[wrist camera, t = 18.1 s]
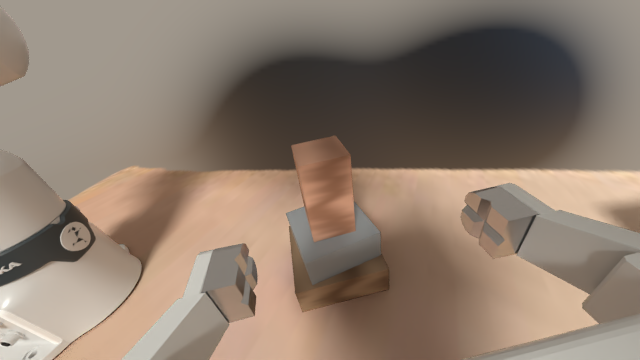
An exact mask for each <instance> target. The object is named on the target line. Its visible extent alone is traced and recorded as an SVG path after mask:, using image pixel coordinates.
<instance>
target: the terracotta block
mask: <svg viewBox="0 0 640 360" xmlns="http://www.w3.org/2000/svg"><path fill="white" fill-rule="evenodd" d="M291 147H292V151H293V156H294V160H295V165H296V170H297V174H298V179H299V184H300V188H301V193H302V197H303V202H304V207H305V211H306V216H307V219H308V223H309V226H310V230H311V234H312V237H313V241H314V242H317V241H321V240H324V239H328V238H332V237H336V236H339V235H343V234H347V233H350V232H354V231H356V229H355V214H354V200H353V185H352V171H351V158H350V157H351V156H350V154H349V152H348V151H347V150H346V149H345V147H344V146H343V145H342V144H341V142H340V141H339V140H338V138H337V137H336V136H332V137H327V138H323V139H318V140H314V141H309V142H304V143H300V144H295V145H292V146H291Z"/></svg>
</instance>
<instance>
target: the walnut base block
mask: <svg viewBox="0 0 640 360" xmlns="http://www.w3.org/2000/svg"><path fill="white" fill-rule="evenodd" d="M289 232H290V242H291V253H292V263H293V273H294V284H295V294H296V296H297V299H298V301H299V304H300V307H301V309H302V312H306V311H310V310H313V309H317V308H321V307H324V306H328V305H332V304H335V303H339V302H343V301H347V300H350V299H354V298H358V297H361V296H365V295H369V294H372V293H376V292H380V291H384V290H387V289H389V268H388V266H387V264H386V262H385V260H384V258H383V256H382V254H381V255H380V256H378V257H376V258H373V259H371V260H369V261H367V262H364V263H362V264H360V265H358V266H355V267H353V268H351V269H348V270H346V271H344V272H342V273H339V274H337V275H335V276H333V277H330V278H328V279H326V280H324V281H321V282H319V283H317V284H315V285H312V283H311V280H310V278H309V275H308V272H307V270H306V267H305V265H304V262H303V259H302V257H301V254H300V252H299V249H298V246H297V244H296V241H295V239H294V236H293V233H292V230H291V227H290V226H289Z"/></svg>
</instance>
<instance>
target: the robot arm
mask: <svg viewBox="0 0 640 360" xmlns="http://www.w3.org/2000/svg"><path fill="white" fill-rule="evenodd" d="M28 65H29V52H28V47H27V44H26V41H25V39H24V37H23V34H22V33H21V31H20V29H19V28H18V26H17V25H16V23H15V22H14V20H13V19H12V18H11V17H10V16H9V14H8V13H7V12H6V11H5V10H4V9H3V8H2V7H1V6H0V86H3V85H5V84H7V83H10V82H12V81H14V80H17V79H19V78H22V77H24V76H25V74H26V72H27V70H28ZM465 203H466V204H467V206H466V207H465V208H464V209H463V210H462V213H461V220H462V224H463V226H464V228H465V230H466V231H467V232H468V233H469V234H470V235H472V236H474V237H476V238H479V245H480V246H481V247H482V248H483V249H484V250H485V251H486V252H487V253H488V254H489V255H490V256H491V257H492V259H495V258H500V257H504V256H509V255H514V254H517V256H519V257H521V258H523V259H525V260H526V261H528V262H530V263H532V264H534V265H536V266H538V267H540V268H542V269H543V270H545V271H547V272H549V273H551V274H553V275H555V276H557V277H558V278H560V279H562V280H564V281H566V282H568V283H570V284H572V285H573V286H575V287H577V288H579V289H581V290H583V291H585V292H587V293H588V294H590V295H589V296H588V297H587V299H586V300H585V301H584V302H583V303H582V308H583V309H584V310H585V311H586V312H587V313H588V314H589V315H590V316H591V317H593V318H594V319H595V320H596V321H597V322H598V323H599V324H597V325H593V326H589V327H585V328H581V329H577V330H574V331H570V332H566V333H562V334H558V335H554V336H550V337H547V338H543V339H539V340H535V341H531V342H527V343H523V344H520V345H516V346H512V347H508V348H504V349H500V350H496V351H493V352H489V353H485V354H481V355H477V356H473V357H469V358H466V359H462V360H640V233H638V232H634V231H631V230H627V229H624V228H620V227H617V226H613V225H610V224H607V223H603V222H600V221H596V220H593V219H589V218H586V217H582V216H579V215H576V214H572V213H569V212H565V211H562V210H558V211H555V210H553V209H552V208H550V207H549V206H547V205H546V204H544V203H543V202H541V201H540V200H538V199H537V198H535V197H534V196H532V195H531V194H529V193H527V192H526V191H524V190H523V189H521V188H520V187H518V186H517V185H515V184H512V183H507V184H503V185H499V186H495V187H490V188H486V189H482V190H478V191H473V192H469V193H468V194H467V195H466V197H465ZM248 253H249V249H248V248H247V246H246V244H238V245H233V246H228V247H223V248H218V249H215V250H209V251H204V252H200V253H199V254H198V255H197V257H196V260H195V263H194V266H193V269H192V272H191V275H190V277H189V280H188V283H187V286H186V289H185V292H184V295H183V298H179V299H177V300H176V301H175V302H174V303H173V305H172V306H171V307H170V308H169V309H168V310H167V311H166V312H165V313H164V314H163V315H162V316H161V318H160V319H159V320H158V321H157V322H156V323H155V324H154V325H153V326H152V327H151V328H150V329H149V330H148V332H147V333H146V334H145V335H144V336H143V337H142V338H141V339H140V340H139V341H138V342H137V343H136V345H135V346H134V347H133V348H132V349H131V350H130V351H129V352H128V353H127V354H126V355H125V356H124V357H123V359H122V360H209V359H210V357H211V355H212V354H213V352H214V350H215V349H216V347H217V345H218V343H219V342H220V340H221V338H222V336H223V335H224V333H225V331H226V330H227V328H228V326H229V323H231V322H234V321H238V320H242V319H245V318H249V317H253V316H255V305H256V295H255V294H254V292H253V290H254V288H255V287H256V285H257V268H256V265H255V262H254V260H253V258H251V257H249V256H248ZM141 269H142V266H141V262H140V260H139V259H138V258H136V257H135V256H133V255H131V254H130V253H129V249H128V248H127V247H126V246H125V245H124V244H119V245H118V244H117V243H116V242H115V241H114V240H112V239H111V238H110V237H109V236H108V235H106V234H105V233H104V232H103V231H101V230H100V229H99V228H98V227H96V226H95V225H94V224H92V223H90V222H88V219H87V218H86V217H85V216H84V215H83V214H82V213H81V212H80V210H79V209H78V208H77V207H76V206H74V205H73V204H72V203H71V202H69V201H67V200H62V199H61V198H60V197H59V196H58V195H57V194H56V193H55V191H54V190H53V189H52V188H51V187H49V186H48V184H47V183H46V182H45V181H44V180H43V179H42V178H41V177H40V176H39V175H38V174H37V173H36V172H35V171H34V170H33V169H32V168H31V167H30V166H29V165H28V164H27V163H26V162H25V161H24V160H23V159H21V158H20V157H18V156H16V155H14V154H12V153H9V152H7V151H3V150H0V360H52V359H53V358H55V357H56V356H57V355H58V354H59V353H60V352H61V351H62V350H64V349H65V348H66V347H67V346H68V345H69V344H70V343H71V342H73V341H74V340H75V339H77V338H78V337H80V336H81V335H83V334H84V333H86V332H87V331H89V330H90V329H92V328H93V327H95V326H96V325H97V324H99V323H100V322H101V321H103V320H104V319H105V318H106V317H107V316H109V315H110V314H111V313H112V312H113V311H114V310H115V309H116V308H117V307H118V306H119V305H120V304H121V303H122V302H123V301H124V300H125V299H126V297H127V296H128V295H129V294H130V292H131V291H132V290H133V288H134V287H135V285H136V283H137V281H138V279H139V277H140V274H141Z"/></svg>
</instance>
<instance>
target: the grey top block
mask: <svg viewBox="0 0 640 360" xmlns="http://www.w3.org/2000/svg"><path fill="white" fill-rule="evenodd" d="M354 214H355V229H356V231H354V232H350V233H347V234H343V235H339V236H336V237H332V238H328V239H324V240H321V241H317V242H314V241H313V237H312V234H311V230H310V226H309V223H308V219H307V216H306V211H305V207H302V208H299V209H296V210H294V211H291V212H288V213H286V215H287V218H288V221H289V224H290V227H291V230H292V233H293V236H294V239H295V241H296V244H297V246H298V249H299V252H300V254H301V257H302V259H303V262H304V265H305V267H306V270H307V272H308V275H309V278H310V280H311V283H312V285H315V284H317V283H319V282H321V281H324V280H326V279H328V278H330V277H333V276H335V275H337V274H339V273H342V272H344V271H346V270H348V269H351V268H353V267H355V266H358V265H360V264H362V263H364V262H367V261H369V260H371V259H373V258H376V257H378V256H380V255H381V238H380V231H379V230H378V229H377V228H376V226H375V225H374V224H373V223H372V222H371V221H370V219H369V218H368V217H367V216H366V215H365V214H364V212H363V211H362V210H361V209H360V208H359V206H358V205H357V204H356V203H355V202H354Z"/></svg>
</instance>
